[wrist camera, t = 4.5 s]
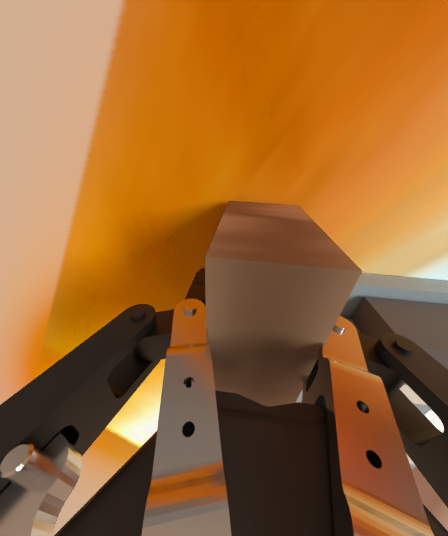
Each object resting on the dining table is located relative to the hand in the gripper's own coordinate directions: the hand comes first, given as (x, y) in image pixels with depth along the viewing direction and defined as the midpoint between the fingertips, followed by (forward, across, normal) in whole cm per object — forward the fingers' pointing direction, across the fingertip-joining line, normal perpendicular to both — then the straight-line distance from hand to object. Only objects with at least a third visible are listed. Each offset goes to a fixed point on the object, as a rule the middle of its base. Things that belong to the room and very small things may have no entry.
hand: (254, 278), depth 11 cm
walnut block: (+2, 0, 0) cm, 2 cm away
